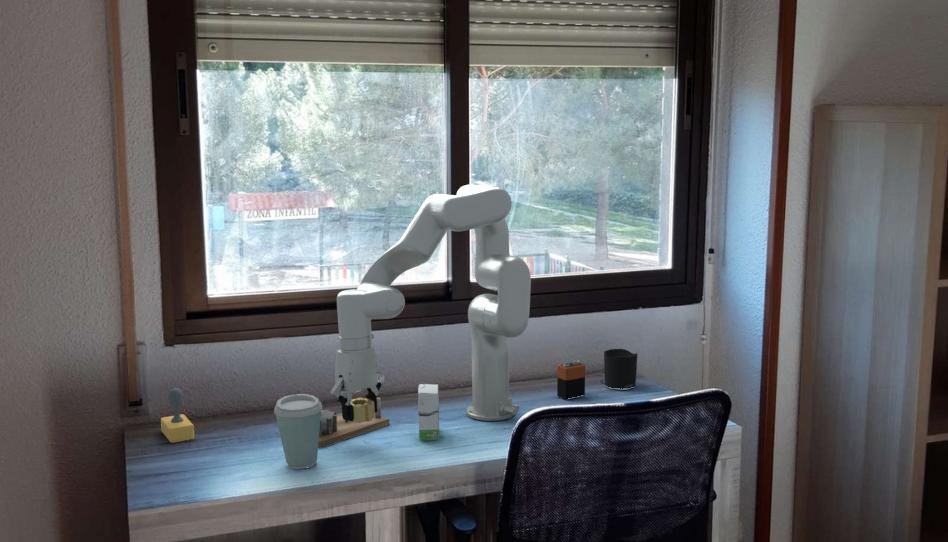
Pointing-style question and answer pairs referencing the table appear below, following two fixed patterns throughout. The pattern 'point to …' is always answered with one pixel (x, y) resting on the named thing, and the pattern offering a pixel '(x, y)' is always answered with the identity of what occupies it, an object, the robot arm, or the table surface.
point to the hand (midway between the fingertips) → (360, 415)
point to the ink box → (428, 412)
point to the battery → (571, 379)
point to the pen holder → (620, 368)
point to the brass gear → (362, 410)
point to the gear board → (346, 426)
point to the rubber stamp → (177, 420)
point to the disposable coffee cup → (299, 428)
